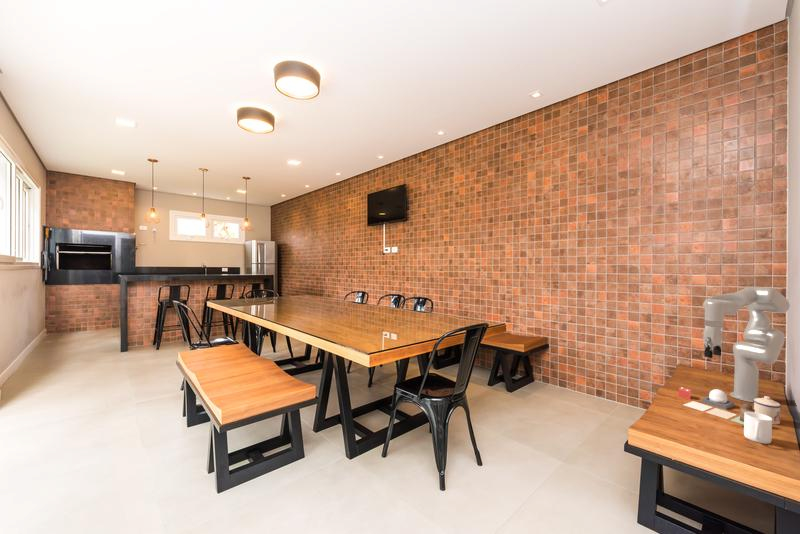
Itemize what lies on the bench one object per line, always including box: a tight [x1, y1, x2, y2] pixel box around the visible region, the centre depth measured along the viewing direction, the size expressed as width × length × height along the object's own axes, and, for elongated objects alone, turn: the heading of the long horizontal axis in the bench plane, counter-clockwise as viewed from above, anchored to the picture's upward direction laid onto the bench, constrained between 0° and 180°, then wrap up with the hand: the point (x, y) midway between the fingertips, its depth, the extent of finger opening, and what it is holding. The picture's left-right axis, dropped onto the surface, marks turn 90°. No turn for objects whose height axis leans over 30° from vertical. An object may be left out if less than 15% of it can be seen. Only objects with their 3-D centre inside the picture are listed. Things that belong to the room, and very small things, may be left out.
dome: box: [708, 388, 728, 404], centre depth 182 cm, size 7×7×7 cm
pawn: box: [739, 402, 755, 422], centre depth 162 cm, size 5×5×9 cm
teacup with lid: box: [753, 395, 782, 426], centre depth 167 cm, size 12×9×12 cm
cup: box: [743, 412, 773, 445], centre depth 147 cm, size 8×12×10 cm
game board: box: [683, 400, 744, 428], centre depth 171 cm, size 13×30×1 cm, turn 27°
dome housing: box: [701, 395, 736, 410], centre depth 182 cm, size 10×10×3 cm
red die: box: [678, 386, 692, 400], centre depth 192 cm, size 5×5×6 cm
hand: (712, 356), depth 182 cm, fingers open, 9 cm apart
